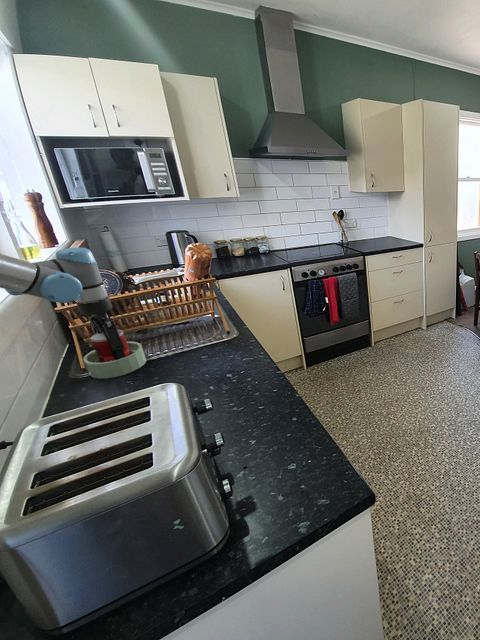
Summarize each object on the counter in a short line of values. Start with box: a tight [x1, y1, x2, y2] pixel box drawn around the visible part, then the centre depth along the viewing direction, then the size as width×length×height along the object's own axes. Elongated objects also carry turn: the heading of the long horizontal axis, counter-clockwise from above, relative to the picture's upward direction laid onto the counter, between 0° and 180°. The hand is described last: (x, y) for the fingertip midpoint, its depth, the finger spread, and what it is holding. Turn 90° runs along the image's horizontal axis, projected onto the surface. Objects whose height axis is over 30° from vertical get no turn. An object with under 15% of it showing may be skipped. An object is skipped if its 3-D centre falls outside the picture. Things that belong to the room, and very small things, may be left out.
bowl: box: [82, 341, 147, 380], centre depth 114 cm, size 15×15×6 cm
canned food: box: [90, 328, 131, 363], centre depth 113 cm, size 8×8×11 cm
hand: (117, 363), depth 115 cm, fingers closed on canned food, 8 cm apart
